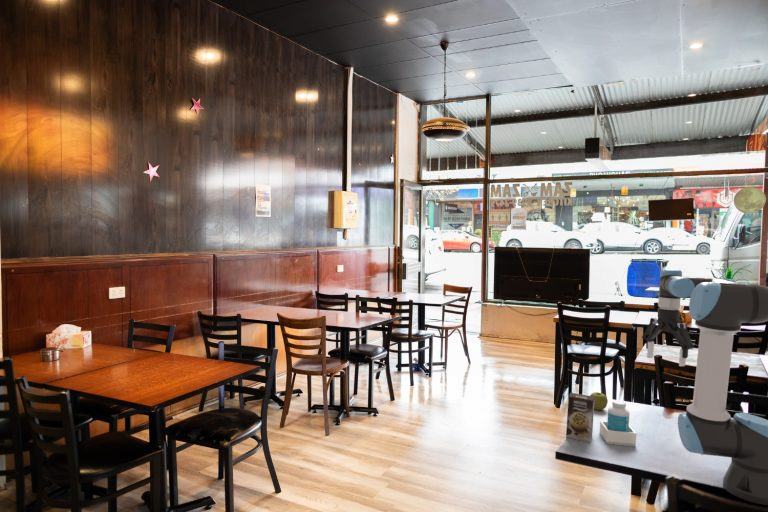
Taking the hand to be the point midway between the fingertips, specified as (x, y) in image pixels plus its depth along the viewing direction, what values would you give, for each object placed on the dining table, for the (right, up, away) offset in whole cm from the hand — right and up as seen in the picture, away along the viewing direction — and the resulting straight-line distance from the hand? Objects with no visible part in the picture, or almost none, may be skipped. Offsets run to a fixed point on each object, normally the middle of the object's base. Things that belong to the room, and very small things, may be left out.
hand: (665, 361), depth 204 cm
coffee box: (-37, -28, -6) cm, 46 cm away
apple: (-16, -27, +27) cm, 41 cm away
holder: (-23, -28, -7) cm, 37 cm away
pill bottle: (-23, -28, -7) cm, 36 cm away
